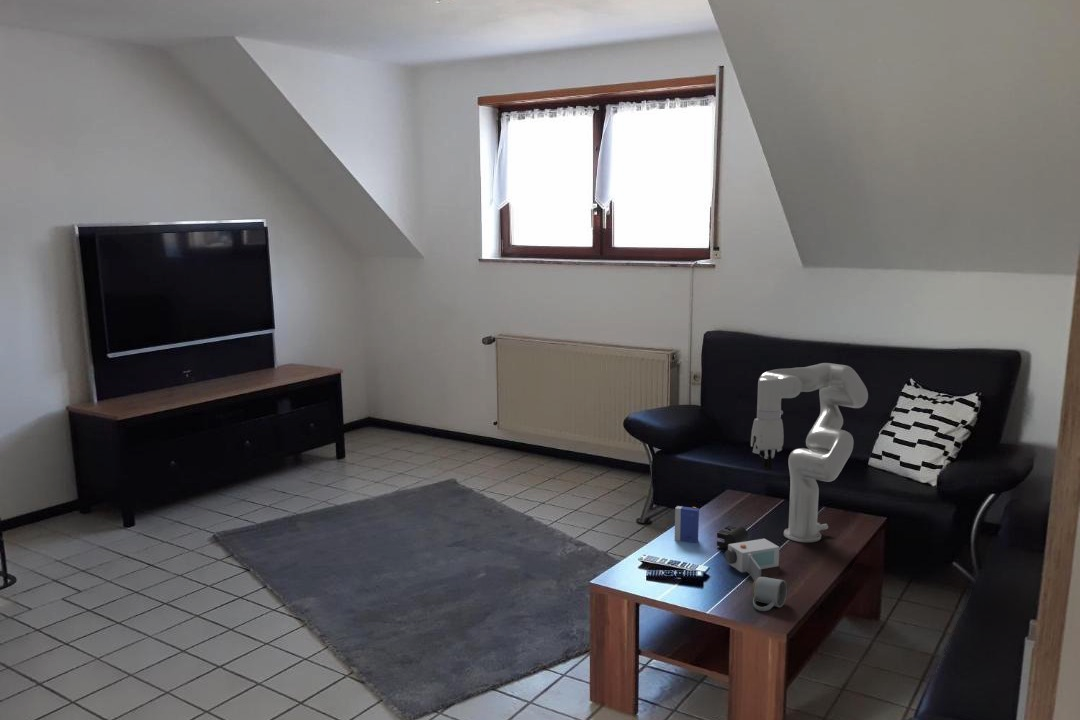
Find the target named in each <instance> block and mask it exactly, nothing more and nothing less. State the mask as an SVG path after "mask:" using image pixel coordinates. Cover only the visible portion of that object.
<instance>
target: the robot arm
mask: <svg viewBox="0 0 1080 720" xmlns="http://www.w3.org/2000/svg"><path fill="white" fill-rule="evenodd" d="M817 390H819V393H818V394H819V403H820V404H819V406H820V408H819V409H820V412H819V416H818V417H817V419H816V421H815V422H814V424H813V426H812V428H810V430H809V432H808V433H807V436H806V439H805V446H806V447H807V448H804V447H801V448H795V449H793V450H792V451H791V452H790V454H789V455H788V462H787V463H788V469H789V470H788V471H789V477H790V479H789V480H790V481H789V483H790V487H789V489H790V490H789V509H788V510H789V511H788V528H785V529H784V531H783V536H784V537H785V538H787V539H789V540H791V541H794V542H799V543H816V542H819V541H820V540H821V539H822V534H821V530H822V531H823V530H827V529H829V525H828V524H827V523H822V524H821V523H820V522H818V513H819V512H818V511H819V493H820V492H819V491H820V489H819V485H818V483H817V481H822V482H829V483H830V482H832V481H835V480H836V479H837V478H838V477H839V475H840V473H841V472H842V470H843V468H844V467H845V465H846V463H847V462H848V459H849V458H850V456H851V454H852V452H853V450H854V443H855V442H854V438H853V435H852V434H851V432H848V431H846V430H844V429H842V427H843V425H844V418H843V415H842V413H841V410H840V408H839V406H841V407H847V408H852V409H861V408H863V407H864V406H865V405H866V404H867V402H868V400H869V393H868V389H867V387H866V385H865V383H864V381H862V379H861V377H860V376H859V374H858V373H857V372H856V371H855V369H854V368H852V367H851V366H849V365H845V364H837V363H830V362H821V363H818V364H814V365H808V366H805V367H803V366H802V367H792V368H789V367H788V368H777V369H772V370H767V371H765V372H762V374H761V375H760V376H759V378H758V382H757V400H756V401H757V405H756V418H754V420H753V422H752V423H753V424H752V428H751V435H750V447H751V448H752V454H758V455H759V457H761V468H762V469H763V470H764V471H772V468H773V459H774V458H775V455H776V454H777V453H779V452H781V451H782V450H783V446H784V439H785V438H784V437H785V435H784V423H783V419H782V418H781V417H782V415H783V414H784V411H783V410H782V399H793V398H796V397H797V396H799V395H800V393H802V392H803V393H804V392H805V393H808V392H809V393H810V392H814V391H817Z"/></svg>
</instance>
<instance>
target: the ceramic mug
mask: <svg viewBox="0 0 1080 720" xmlns="http://www.w3.org/2000/svg"><path fill="white" fill-rule="evenodd" d="M787 588H788V587H787V582H786V581H785V580H784V579H778V578H772V577H766V576H761V577H758V578H756V579H755V581H754V580H753V583H752V589H751V593H752V598H753V599H752V606H753V608H754V609H755V610H758V611H760V612H766V611H767V612H768V611H770V610H771V609H772V608H773V607H775V608H776V607H777V608H781V607H783V606H784V604H785V601H786V599H787V594H788V593H787V592H788V591H787V590H788V589H787ZM756 602H759V603H763V604H766V605H764V606H759V605H757V604H756Z"/></svg>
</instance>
